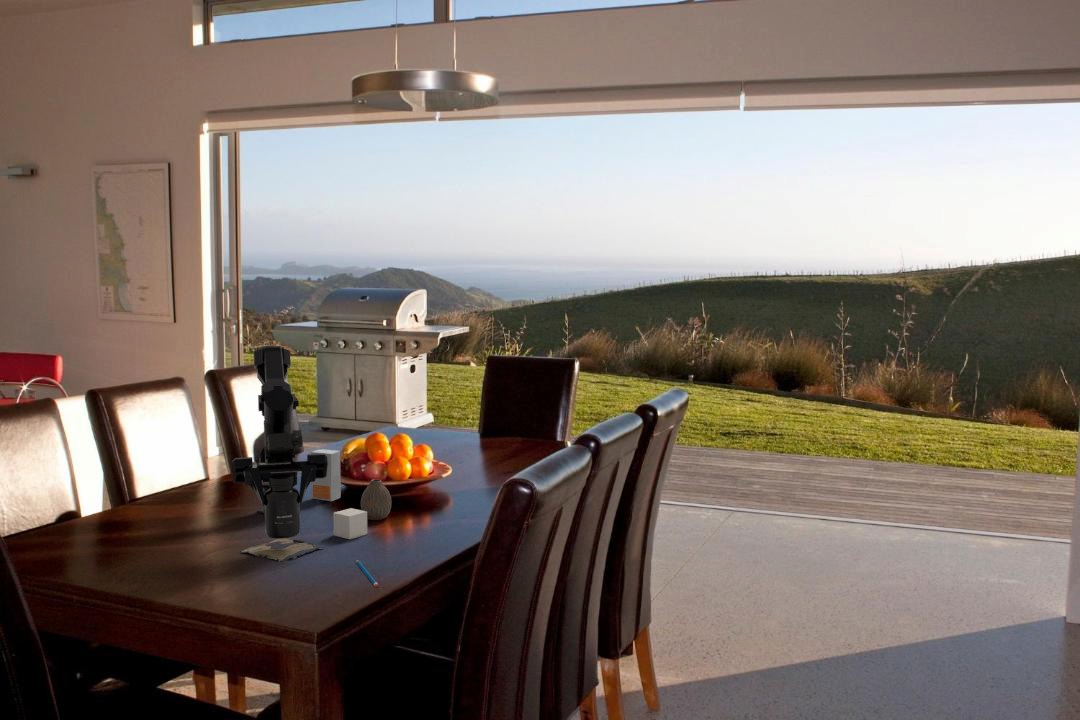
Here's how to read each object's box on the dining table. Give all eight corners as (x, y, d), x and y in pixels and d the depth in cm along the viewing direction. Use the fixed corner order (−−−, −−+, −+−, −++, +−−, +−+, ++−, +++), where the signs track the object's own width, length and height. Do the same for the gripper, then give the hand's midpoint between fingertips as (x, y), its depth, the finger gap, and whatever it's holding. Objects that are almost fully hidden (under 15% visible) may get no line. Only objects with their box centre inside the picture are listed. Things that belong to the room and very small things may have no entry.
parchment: (283, 565, 181) (283, 560, 181) (236, 554, 187) (236, 549, 187) (328, 549, 191) (328, 544, 191) (282, 539, 198) (282, 535, 198)
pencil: (375, 589, 167) (375, 585, 167) (354, 562, 183) (354, 558, 183) (379, 588, 167) (379, 584, 167) (358, 561, 183) (358, 558, 183)
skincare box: (310, 499, 232) (310, 451, 231) (321, 495, 236) (320, 448, 235) (331, 501, 230) (330, 453, 229) (341, 498, 234) (340, 450, 232)
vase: (385, 522, 210) (384, 484, 210) (356, 521, 212) (355, 482, 211) (395, 515, 217) (395, 477, 216) (367, 513, 219) (367, 476, 218)
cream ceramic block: (333, 535, 200) (333, 512, 200) (351, 530, 204) (351, 508, 204) (349, 539, 197) (349, 516, 197) (367, 534, 201) (367, 511, 201)
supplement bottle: (282, 541, 185) (279, 481, 183) (258, 536, 188) (255, 477, 187) (307, 532, 190) (305, 474, 189) (284, 528, 194) (281, 471, 193)
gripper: (231, 418, 188) (232, 485, 178) (326, 414, 194) (332, 479, 184) (232, 450, 196) (233, 515, 187) (323, 445, 202) (329, 508, 193)
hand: (282, 503), depth 187 cm, fingers closed on supplement bottle, 7 cm apart
